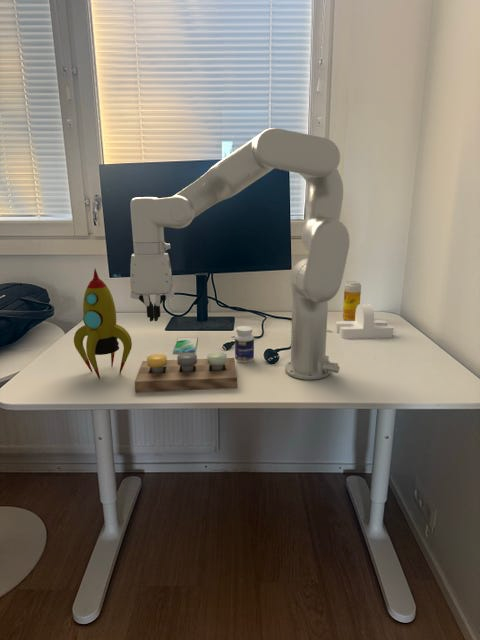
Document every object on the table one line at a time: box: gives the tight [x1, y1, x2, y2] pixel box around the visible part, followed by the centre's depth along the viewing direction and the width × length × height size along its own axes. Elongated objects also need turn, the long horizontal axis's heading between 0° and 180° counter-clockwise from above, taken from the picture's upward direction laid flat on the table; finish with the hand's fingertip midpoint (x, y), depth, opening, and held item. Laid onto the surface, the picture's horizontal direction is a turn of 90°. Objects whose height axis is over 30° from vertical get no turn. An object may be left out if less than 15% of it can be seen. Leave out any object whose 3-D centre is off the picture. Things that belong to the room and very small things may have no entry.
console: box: [134, 357, 238, 393], centre depth 119 cm, size 26×14×3 cm, turn 94°
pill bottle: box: [234, 325, 255, 363], centre depth 131 cm, size 6×6×10 cm
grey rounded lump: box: [176, 353, 198, 372], centre depth 118 cm, size 5×5×5 cm
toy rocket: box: [73, 268, 133, 380], centre depth 120 cm, size 12×12×30 cm
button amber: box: [146, 353, 168, 373], centre depth 118 cm, size 5×5×5 cm
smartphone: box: [172, 337, 199, 355], centre depth 145 cm, size 7×1×15 cm
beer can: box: [342, 280, 362, 321], centre depth 169 cm, size 6×6×15 cm
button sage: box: [206, 351, 228, 371], centre depth 119 cm, size 5×5×5 cm
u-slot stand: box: [335, 303, 394, 340], centre depth 154 cm, size 10×18×11 cm, turn 93°
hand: (154, 319), depth 114 cm, fingers closed
